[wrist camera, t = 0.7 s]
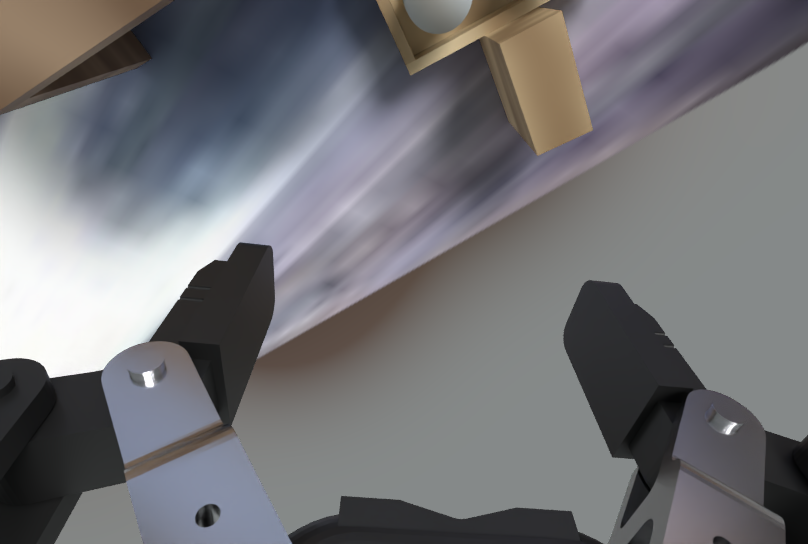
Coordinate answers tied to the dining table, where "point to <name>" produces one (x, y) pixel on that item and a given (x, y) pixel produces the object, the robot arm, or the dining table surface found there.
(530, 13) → the tray
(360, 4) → the dining table surface
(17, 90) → the brown cardboard box
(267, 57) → the dining table surface
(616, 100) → the dining table surface
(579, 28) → the dining table surface
